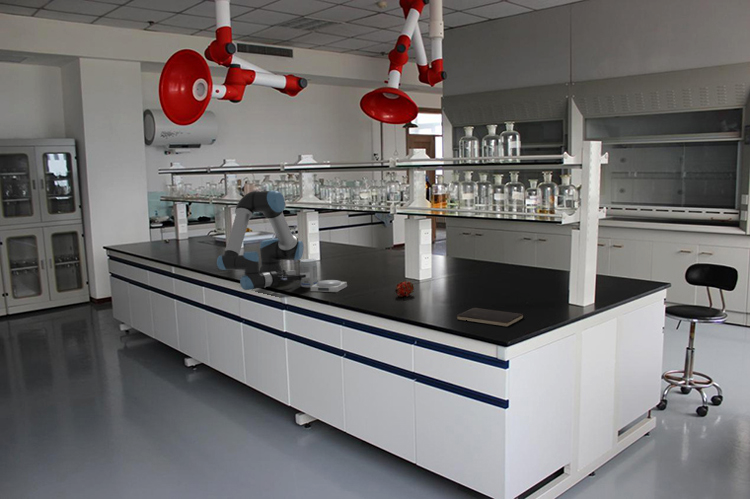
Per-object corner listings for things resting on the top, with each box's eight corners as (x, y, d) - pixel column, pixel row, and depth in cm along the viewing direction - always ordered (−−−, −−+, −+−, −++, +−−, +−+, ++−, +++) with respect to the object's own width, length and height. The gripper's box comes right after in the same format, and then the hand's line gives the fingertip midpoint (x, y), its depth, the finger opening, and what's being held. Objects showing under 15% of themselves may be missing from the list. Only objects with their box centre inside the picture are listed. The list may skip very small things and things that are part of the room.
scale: (321, 285, 330) (321, 279, 330) (346, 286, 325) (346, 280, 325) (310, 291, 316) (310, 284, 315) (336, 292, 311) (336, 285, 311)
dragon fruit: (415, 297, 300) (397, 304, 293) (405, 286, 304) (387, 293, 297) (420, 286, 294) (402, 293, 287) (410, 274, 299) (392, 281, 292)
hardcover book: (507, 328, 235) (507, 322, 235) (456, 320, 249) (456, 315, 249) (523, 319, 248) (523, 313, 247) (474, 312, 261) (474, 307, 261)
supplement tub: (313, 283, 336) (312, 258, 334) (320, 286, 328) (319, 260, 326) (298, 285, 332) (296, 259, 330) (304, 288, 323) (303, 262, 321)
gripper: (257, 283, 322) (290, 277, 335) (282, 289, 303) (316, 282, 317) (256, 269, 320) (289, 264, 334) (281, 274, 302) (315, 269, 316)
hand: (302, 273), depth 326 cm, fingers open, 13 cm apart
